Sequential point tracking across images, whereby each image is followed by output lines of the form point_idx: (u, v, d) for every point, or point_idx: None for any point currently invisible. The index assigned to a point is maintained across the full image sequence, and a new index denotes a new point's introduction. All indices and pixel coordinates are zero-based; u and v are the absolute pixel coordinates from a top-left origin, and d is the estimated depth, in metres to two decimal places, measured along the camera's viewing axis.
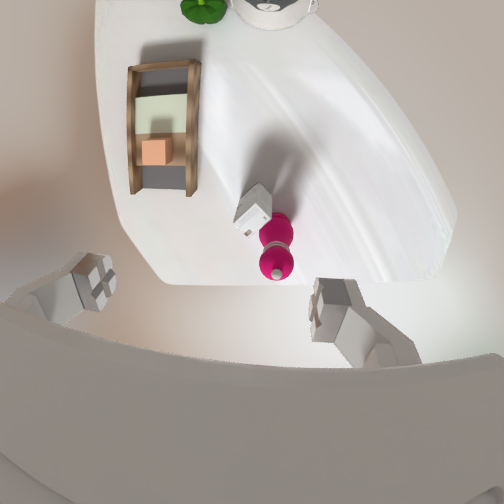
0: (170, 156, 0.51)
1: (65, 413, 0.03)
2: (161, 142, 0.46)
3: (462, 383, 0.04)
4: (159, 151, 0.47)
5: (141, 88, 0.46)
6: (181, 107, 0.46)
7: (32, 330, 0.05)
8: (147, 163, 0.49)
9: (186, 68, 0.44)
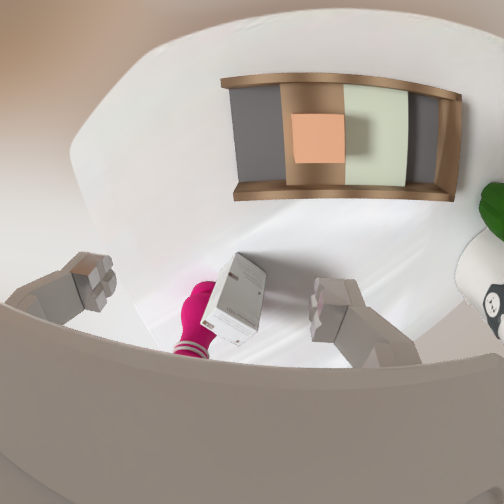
0: None
1: (65, 412, 0.03)
2: (341, 156, 0.25)
3: (462, 383, 0.04)
4: (323, 152, 0.25)
5: (414, 95, 0.25)
6: (386, 172, 0.29)
7: (32, 330, 0.05)
8: (297, 125, 0.24)
9: (434, 170, 0.30)
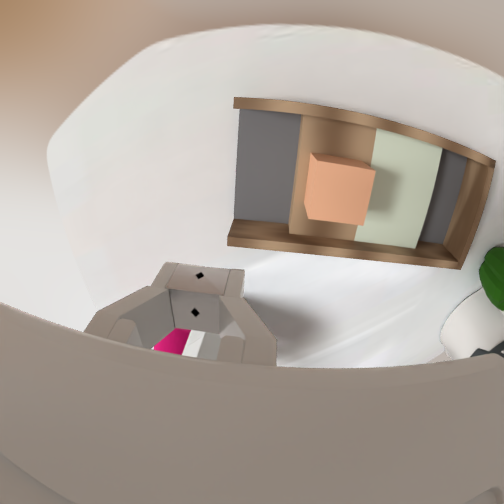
0: None
1: (65, 412, 0.03)
2: (361, 218, 0.22)
3: (462, 383, 0.04)
4: (343, 210, 0.22)
5: (445, 150, 0.23)
6: (399, 232, 0.27)
7: (32, 330, 0.05)
8: (319, 174, 0.21)
9: (446, 231, 0.28)
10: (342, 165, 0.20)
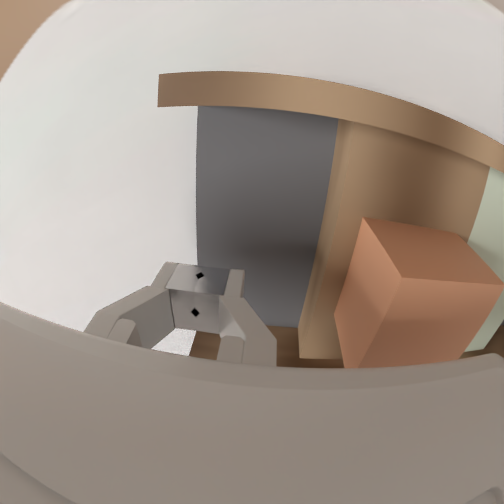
0: None
1: (65, 413, 0.03)
2: None
3: (462, 383, 0.04)
4: None
5: None
6: None
7: (32, 330, 0.05)
8: (397, 309, 0.07)
9: None
10: (454, 282, 0.06)
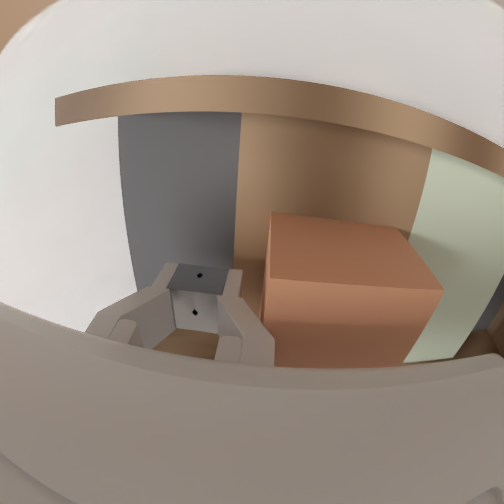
0: None
1: (65, 413, 0.03)
2: None
3: (462, 383, 0.04)
4: None
5: None
6: (436, 343, 0.13)
7: (32, 330, 0.05)
8: (278, 315, 0.07)
9: (495, 314, 0.15)
10: (354, 286, 0.06)
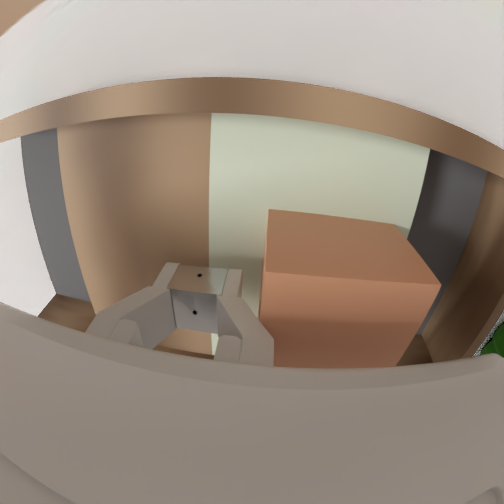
0: None
1: (65, 413, 0.03)
2: None
3: (462, 383, 0.04)
4: None
5: (439, 153, 0.10)
6: None
7: (32, 330, 0.05)
8: (274, 309, 0.07)
9: (429, 316, 0.15)
10: (350, 280, 0.06)
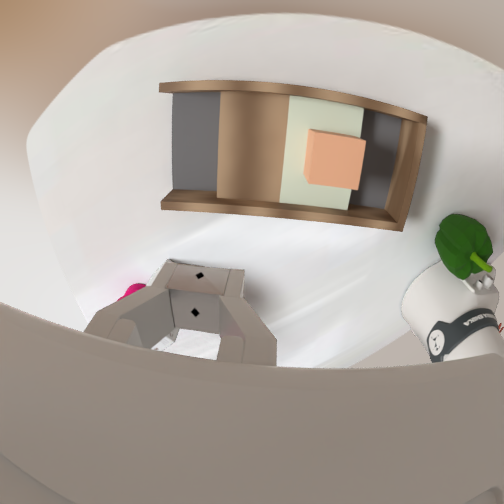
0: None
1: (65, 413, 0.03)
2: (355, 183, 0.24)
3: (462, 383, 0.04)
4: (338, 176, 0.24)
5: (373, 113, 0.26)
6: (326, 193, 0.29)
7: (32, 330, 0.05)
8: (317, 144, 0.23)
9: (386, 195, 0.31)
10: (336, 136, 0.22)
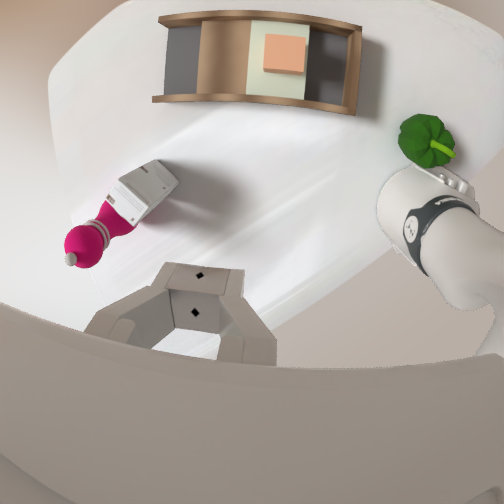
0: (272, 71, 0.30)
1: (65, 412, 0.03)
2: (300, 67, 0.27)
3: (462, 383, 0.04)
4: (286, 62, 0.27)
5: (322, 33, 0.29)
6: (284, 86, 0.32)
7: (32, 330, 0.05)
8: (267, 41, 0.26)
9: (341, 95, 0.34)
10: (282, 35, 0.25)
